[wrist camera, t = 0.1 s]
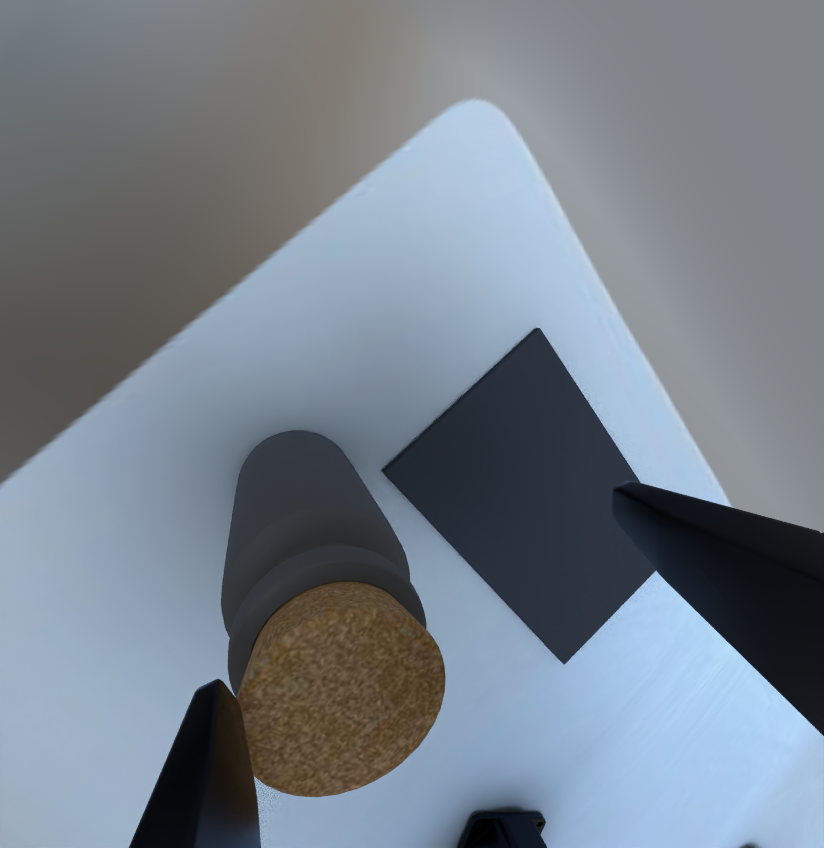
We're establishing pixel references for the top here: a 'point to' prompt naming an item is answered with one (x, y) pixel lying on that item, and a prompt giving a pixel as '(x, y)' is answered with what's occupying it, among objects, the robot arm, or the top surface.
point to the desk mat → (530, 496)
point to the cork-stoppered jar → (323, 624)
